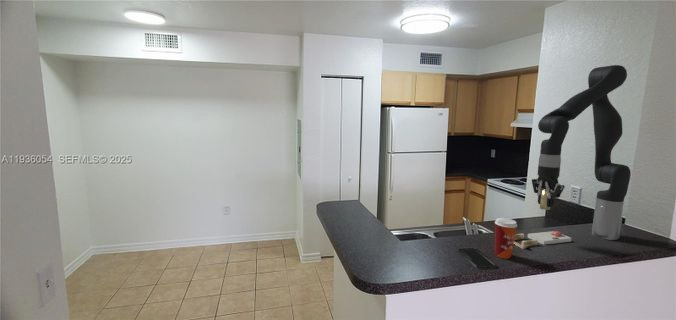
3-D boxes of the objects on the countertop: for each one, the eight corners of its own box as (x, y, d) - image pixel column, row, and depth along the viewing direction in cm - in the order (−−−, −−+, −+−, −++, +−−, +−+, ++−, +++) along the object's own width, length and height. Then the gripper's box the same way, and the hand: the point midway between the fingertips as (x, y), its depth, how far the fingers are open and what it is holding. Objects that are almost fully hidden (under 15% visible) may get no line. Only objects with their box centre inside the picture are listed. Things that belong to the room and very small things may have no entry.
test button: (556, 238, 137) (557, 230, 136) (562, 240, 134) (563, 233, 134) (550, 238, 136) (551, 231, 136) (557, 241, 133) (558, 233, 133)
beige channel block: (522, 240, 135) (522, 233, 135) (537, 247, 128) (537, 240, 128) (508, 241, 134) (509, 234, 133) (523, 248, 126) (523, 241, 126)
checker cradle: (553, 236, 140) (554, 230, 139) (570, 243, 132) (571, 237, 132) (527, 239, 136) (527, 233, 136) (543, 246, 129) (544, 240, 128)
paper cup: (505, 261, 115) (509, 225, 113) (487, 253, 122) (490, 219, 120) (519, 257, 119) (522, 222, 117) (500, 249, 125) (503, 216, 123)
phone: (476, 248, 125) (498, 266, 110) (476, 250, 125) (498, 269, 110) (457, 248, 124) (476, 266, 109) (457, 251, 124) (476, 269, 110)
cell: (544, 207, 133) (546, 187, 132) (552, 209, 130) (554, 189, 128) (537, 207, 132) (539, 188, 131) (545, 210, 129) (547, 190, 128)
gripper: (573, 167, 122) (568, 209, 125) (541, 162, 136) (537, 200, 138) (557, 168, 121) (553, 211, 123) (527, 162, 134) (523, 201, 137)
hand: (545, 205), depth 131 cm, fingers closed on cell, 3 cm apart
